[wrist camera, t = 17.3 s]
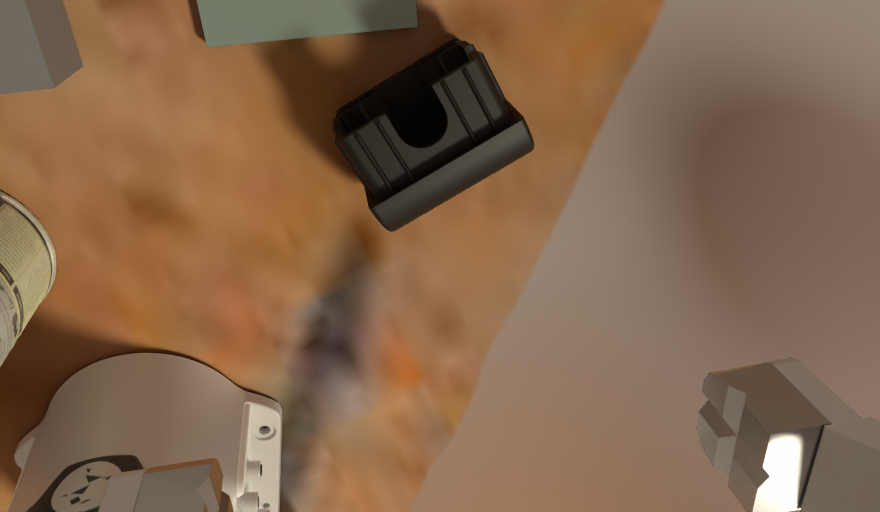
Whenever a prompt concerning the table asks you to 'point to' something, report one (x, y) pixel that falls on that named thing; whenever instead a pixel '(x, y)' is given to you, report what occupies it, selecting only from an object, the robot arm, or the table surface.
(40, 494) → the robot arm
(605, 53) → the table surface
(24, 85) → the grey holed block
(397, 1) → the mat
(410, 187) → the end cap
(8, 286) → the coffee can
